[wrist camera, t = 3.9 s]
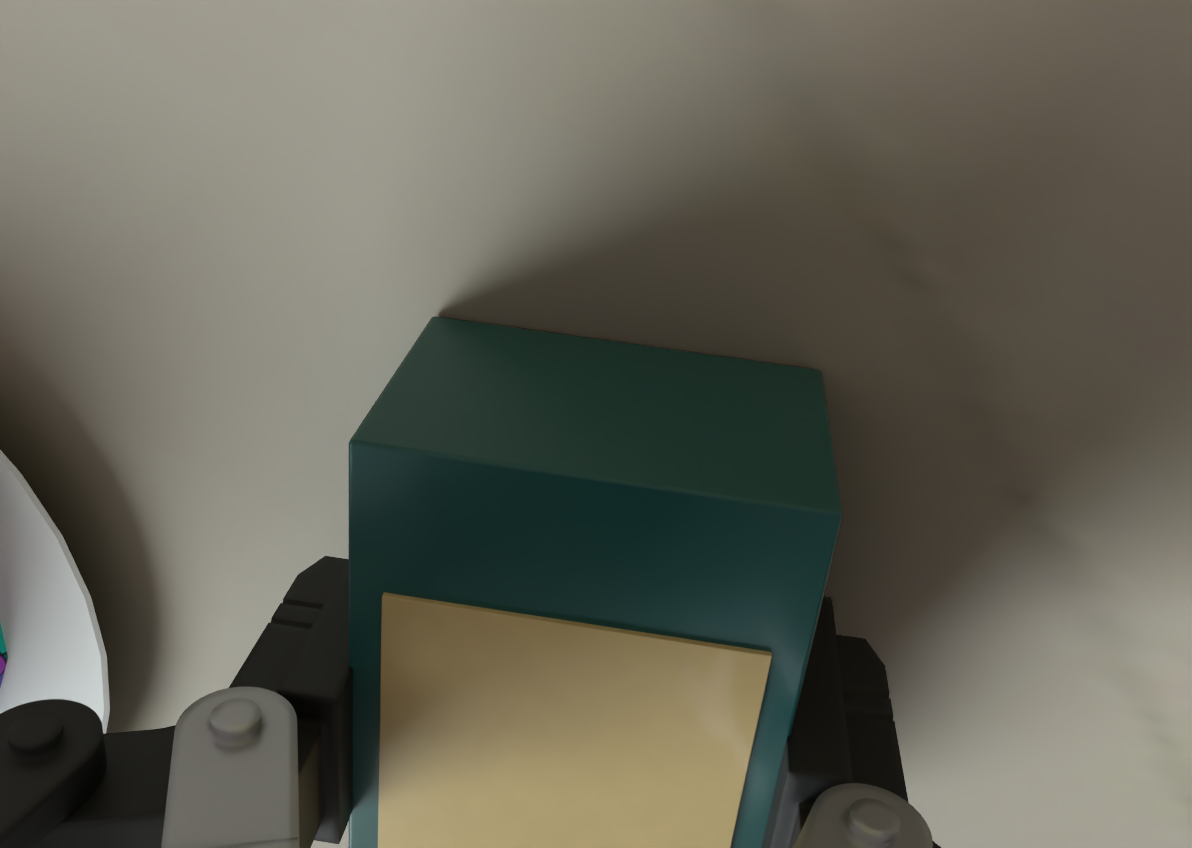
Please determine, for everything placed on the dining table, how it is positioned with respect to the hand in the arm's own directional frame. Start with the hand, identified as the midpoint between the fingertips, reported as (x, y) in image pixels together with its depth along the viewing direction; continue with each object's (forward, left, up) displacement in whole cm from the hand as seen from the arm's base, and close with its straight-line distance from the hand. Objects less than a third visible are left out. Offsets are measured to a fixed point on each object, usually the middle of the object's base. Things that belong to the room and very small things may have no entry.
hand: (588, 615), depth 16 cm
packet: (0, 0, 0) cm, 0 cm away
